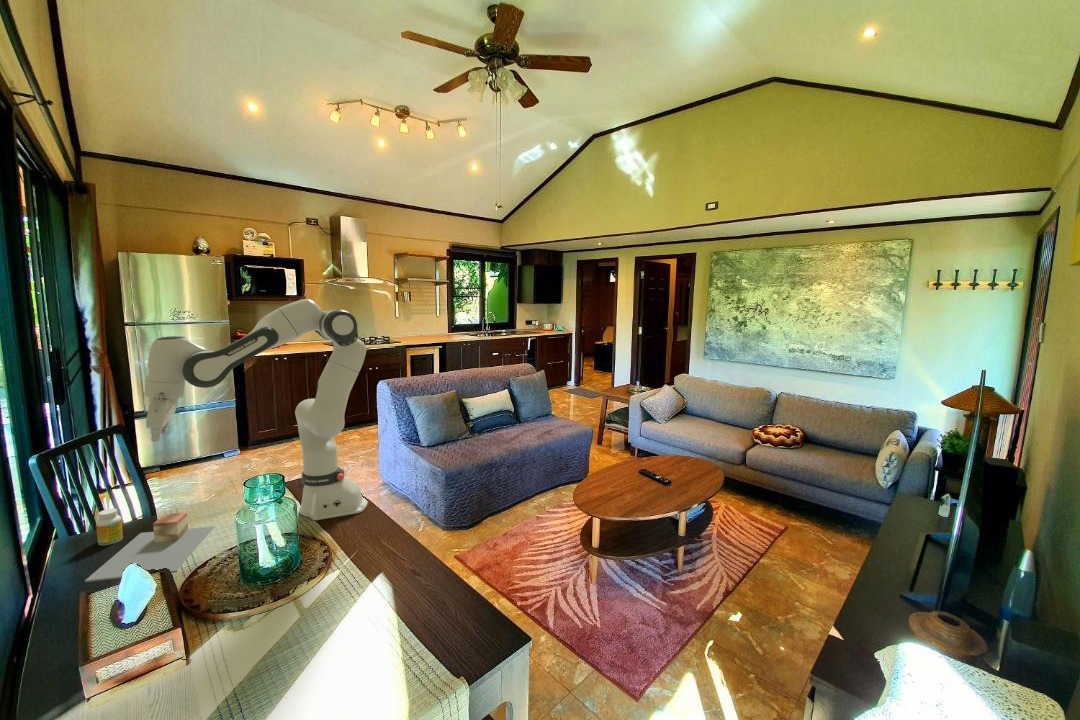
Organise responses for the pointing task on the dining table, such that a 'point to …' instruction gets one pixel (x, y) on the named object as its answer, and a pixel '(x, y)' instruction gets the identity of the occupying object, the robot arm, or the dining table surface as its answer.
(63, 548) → the dining table surface
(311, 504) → the robot arm
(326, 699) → the dining table surface
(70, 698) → the dining table surface
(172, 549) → the slate mat
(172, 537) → the birch block
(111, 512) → the supplement bottle
